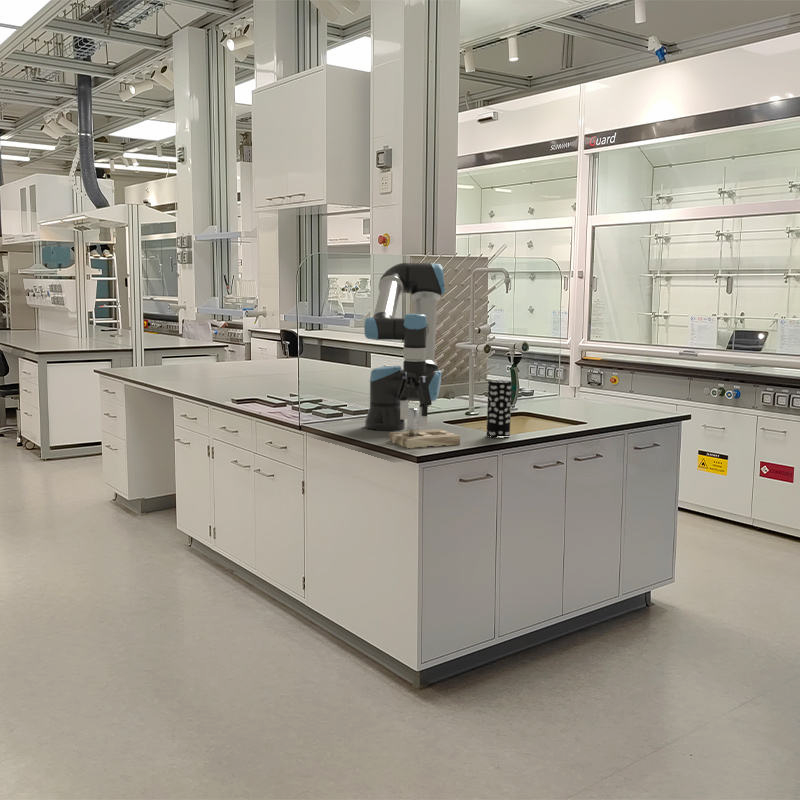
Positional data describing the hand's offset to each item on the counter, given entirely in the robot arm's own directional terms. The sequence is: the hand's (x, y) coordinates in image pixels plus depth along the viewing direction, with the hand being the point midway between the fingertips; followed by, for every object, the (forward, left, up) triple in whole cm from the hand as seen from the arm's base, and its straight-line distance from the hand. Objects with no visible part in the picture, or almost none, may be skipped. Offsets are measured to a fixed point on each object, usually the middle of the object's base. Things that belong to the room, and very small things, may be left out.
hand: (413, 422), depth 269 cm
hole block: (0, +4, -7) cm, 8 cm away
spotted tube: (-1, +35, -7) cm, 36 cm away
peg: (0, 0, -7) cm, 7 cm away
